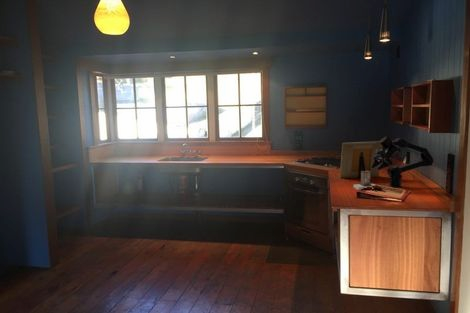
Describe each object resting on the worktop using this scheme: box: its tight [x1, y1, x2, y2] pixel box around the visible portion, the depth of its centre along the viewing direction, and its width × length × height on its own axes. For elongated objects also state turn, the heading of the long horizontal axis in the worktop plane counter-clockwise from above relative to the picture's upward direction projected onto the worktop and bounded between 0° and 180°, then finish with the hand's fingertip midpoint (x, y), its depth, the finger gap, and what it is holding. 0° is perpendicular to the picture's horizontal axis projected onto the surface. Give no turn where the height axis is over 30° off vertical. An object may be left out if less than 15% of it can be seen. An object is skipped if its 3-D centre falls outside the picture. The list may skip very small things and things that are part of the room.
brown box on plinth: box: [359, 171, 372, 186], centre depth 265 cm, size 6×6×10 cm
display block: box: [353, 183, 375, 191], centre depth 265 cm, size 14×10×2 cm
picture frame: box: [339, 140, 383, 180], centre depth 305 cm, size 33×10×30 cm, turn 92°
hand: (374, 168), depth 264 cm, fingers open, 9 cm apart
